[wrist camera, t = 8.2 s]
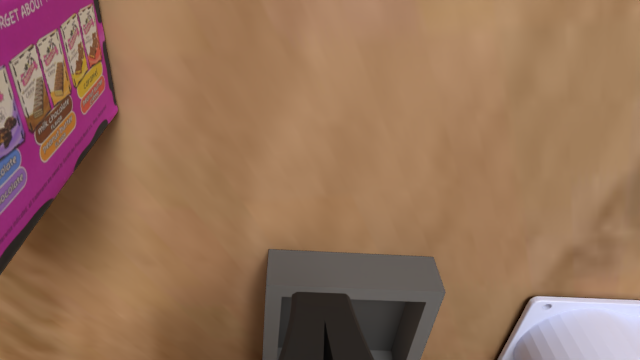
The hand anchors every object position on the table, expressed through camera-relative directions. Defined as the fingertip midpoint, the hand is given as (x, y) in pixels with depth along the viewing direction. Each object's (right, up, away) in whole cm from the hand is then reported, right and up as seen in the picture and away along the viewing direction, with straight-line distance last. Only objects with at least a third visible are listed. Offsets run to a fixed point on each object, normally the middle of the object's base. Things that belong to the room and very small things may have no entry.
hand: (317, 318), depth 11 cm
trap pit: (+1, -4, +16) cm, 16 cm away
